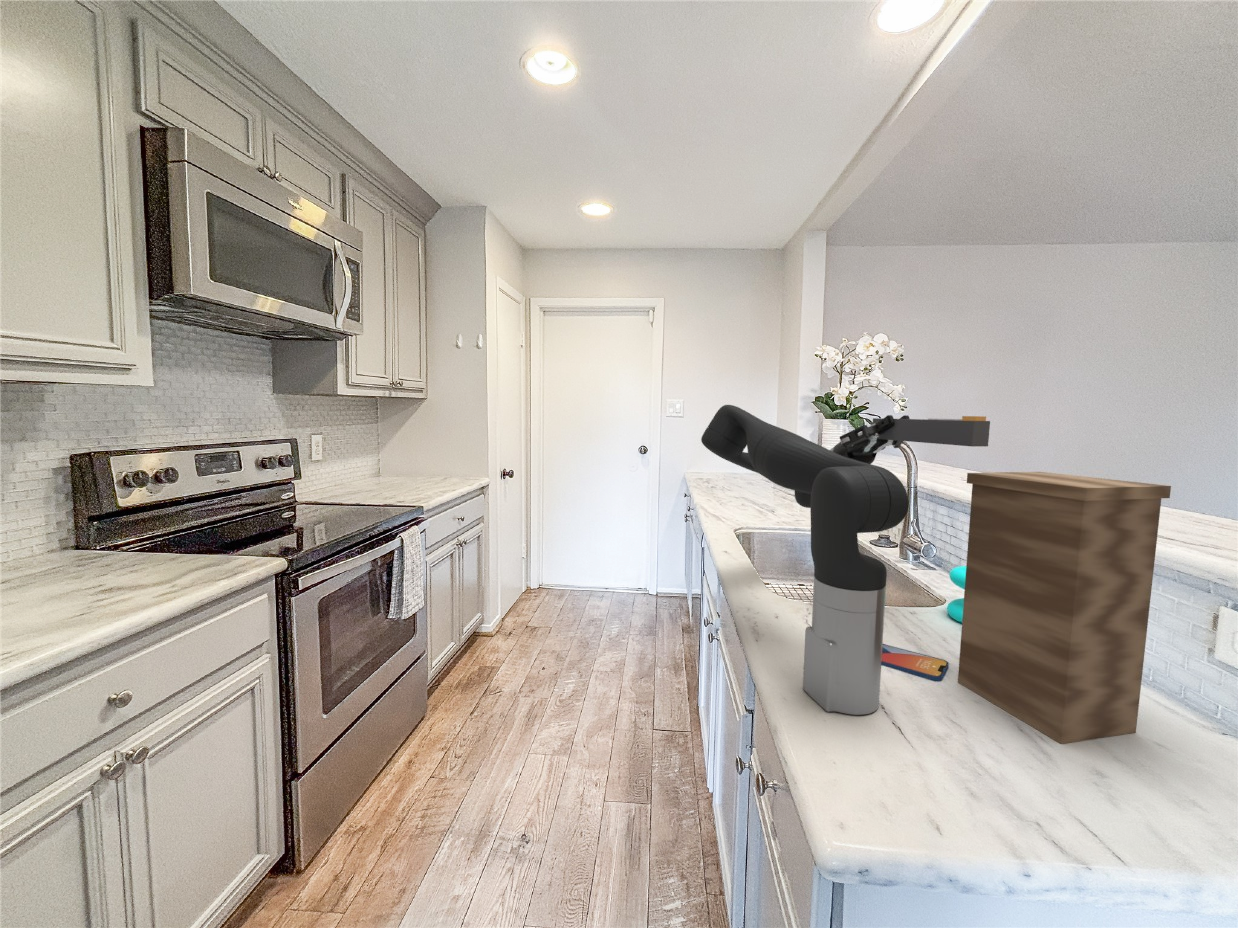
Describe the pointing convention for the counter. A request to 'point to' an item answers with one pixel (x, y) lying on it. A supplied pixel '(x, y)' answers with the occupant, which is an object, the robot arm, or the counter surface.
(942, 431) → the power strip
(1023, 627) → the wooden lidded box
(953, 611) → the turquoise spool
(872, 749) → the counter surface
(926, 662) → the smartphone
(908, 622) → the counter surface
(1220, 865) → the counter surface
